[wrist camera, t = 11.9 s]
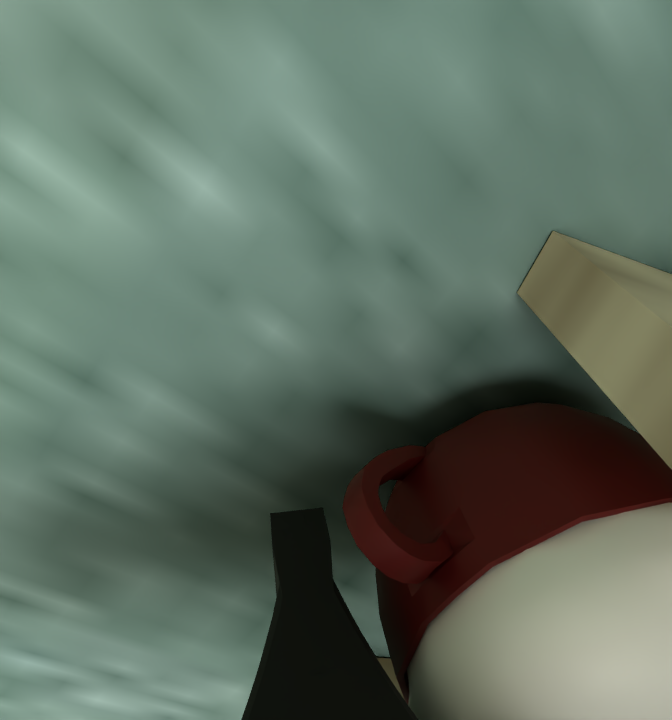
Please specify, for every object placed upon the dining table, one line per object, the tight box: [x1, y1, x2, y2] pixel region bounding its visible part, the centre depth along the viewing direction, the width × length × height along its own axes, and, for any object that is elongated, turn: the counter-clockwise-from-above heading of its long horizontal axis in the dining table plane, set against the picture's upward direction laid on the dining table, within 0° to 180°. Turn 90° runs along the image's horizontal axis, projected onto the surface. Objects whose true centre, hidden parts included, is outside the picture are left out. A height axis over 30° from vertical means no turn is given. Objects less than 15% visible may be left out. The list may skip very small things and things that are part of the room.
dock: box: [377, 231, 672, 700], centre depth 13 cm, size 10×13×4 cm
